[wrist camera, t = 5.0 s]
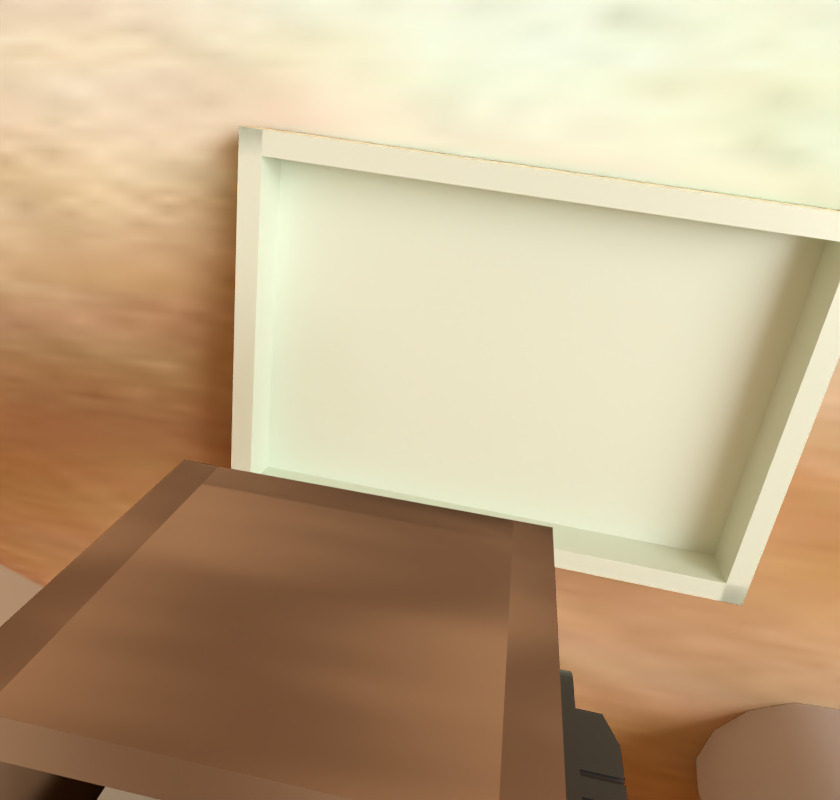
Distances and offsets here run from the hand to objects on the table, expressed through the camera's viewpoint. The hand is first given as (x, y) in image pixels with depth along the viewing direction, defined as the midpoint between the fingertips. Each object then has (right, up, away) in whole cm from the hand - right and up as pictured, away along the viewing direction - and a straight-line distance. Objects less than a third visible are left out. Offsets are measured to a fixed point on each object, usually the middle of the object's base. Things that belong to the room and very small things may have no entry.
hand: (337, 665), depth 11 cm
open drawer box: (0, 0, +1) cm, 1 cm away
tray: (+5, +6, +14) cm, 16 cm away
